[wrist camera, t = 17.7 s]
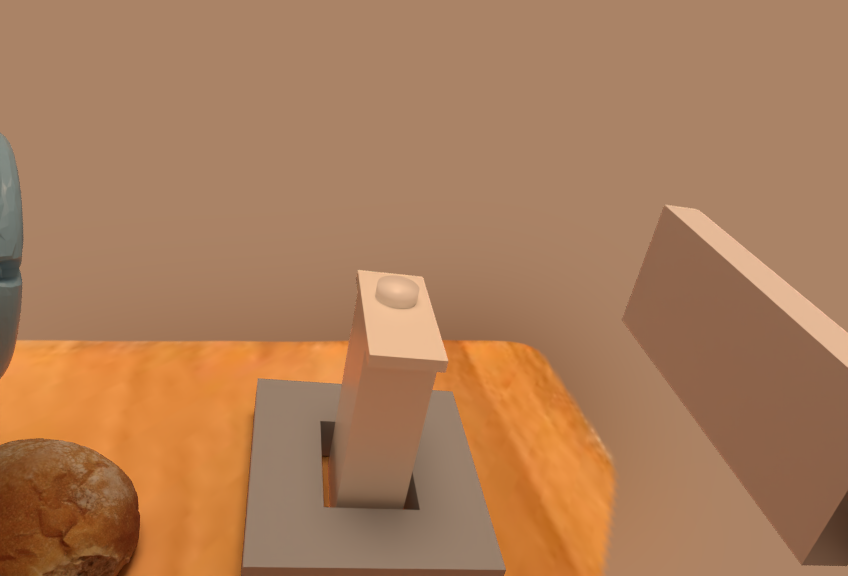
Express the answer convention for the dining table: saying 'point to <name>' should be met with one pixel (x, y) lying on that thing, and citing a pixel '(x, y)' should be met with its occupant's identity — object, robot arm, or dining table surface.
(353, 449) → the cream block
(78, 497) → the bread roll
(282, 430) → the frame
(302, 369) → the dining table surface
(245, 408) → the dining table surface
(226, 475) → the dining table surface
